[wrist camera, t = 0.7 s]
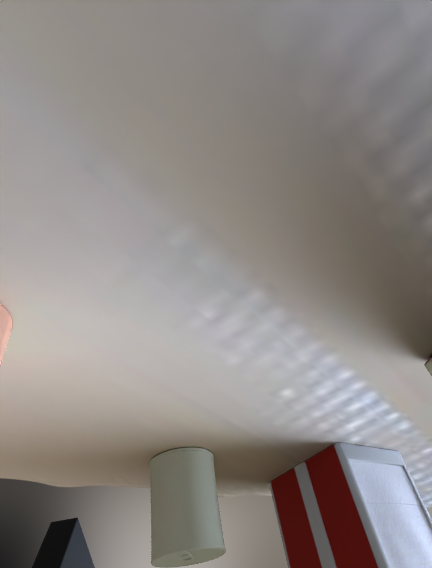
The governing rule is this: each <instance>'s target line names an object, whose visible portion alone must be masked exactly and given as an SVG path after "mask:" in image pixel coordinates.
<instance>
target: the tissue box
mask: <svg viewBox="0 0 432 568" xmlns="http://www.w3.org/2000/svg"><path fill="white" fill-rule="evenodd" d="M269 485H270V489H271V493H272V498H273V502H274V507H275V511H276V515H277V520H278V524H279V529H280V533H281V537H282V542H283V547H284V550H285V555H286V560H287V564H288V568H432V520H431V518H430V516H429V513H428V511H427V509H426V507H425V505H424V503H423V501H422V499H421V497H420V495H419V492H418V490H417V488H416V486H415V484H414V482H413V480H412V478H411V476H410V474H409V472H408V470H407V467H406V465H405V463H404V461H403V459H402V457H401V455H400V453H399V451H393V450H386V449H380V448H373V447H366V446H360V445H353V444H347V443H335V444H334V445H332V446H330V447H328V448H327V449H325V450H323V451H322V452H320V453H318V454H317V455H315V456H313V457H311V458H310V459H308V460H306V461H304V462H302V463H300V464H299V465H297V466H295V467H294V468H293V469H291V470H290V471H288V472H286V473H285V474H283V475H281V476H280V477H278V478H276V479H275V480H273V481H271V482H270V483H269Z"/></svg>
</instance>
